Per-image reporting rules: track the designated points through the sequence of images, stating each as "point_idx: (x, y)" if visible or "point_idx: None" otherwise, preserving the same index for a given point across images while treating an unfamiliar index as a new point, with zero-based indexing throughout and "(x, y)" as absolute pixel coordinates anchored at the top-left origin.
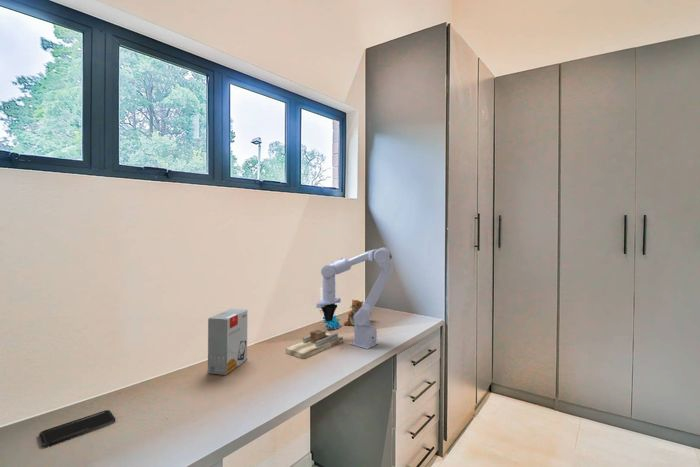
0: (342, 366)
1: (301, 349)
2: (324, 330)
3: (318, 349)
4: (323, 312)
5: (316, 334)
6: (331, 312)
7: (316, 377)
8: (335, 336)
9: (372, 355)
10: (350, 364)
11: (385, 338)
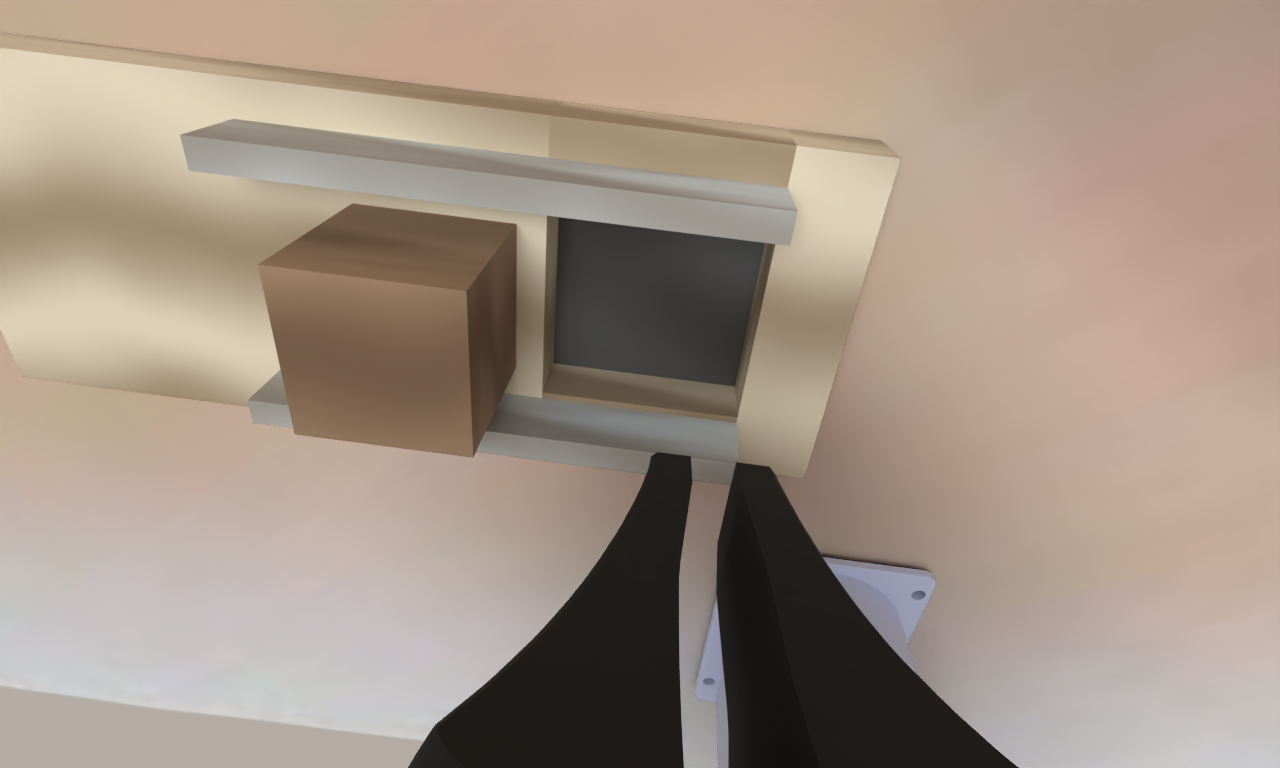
0: (275, 660)
1: (72, 279)
2: (788, 217)
3: None
4: (566, 605)
5: (296, 396)
6: (737, 740)
7: (5, 607)
8: None
9: None
10: (346, 685)
11: (1075, 716)
